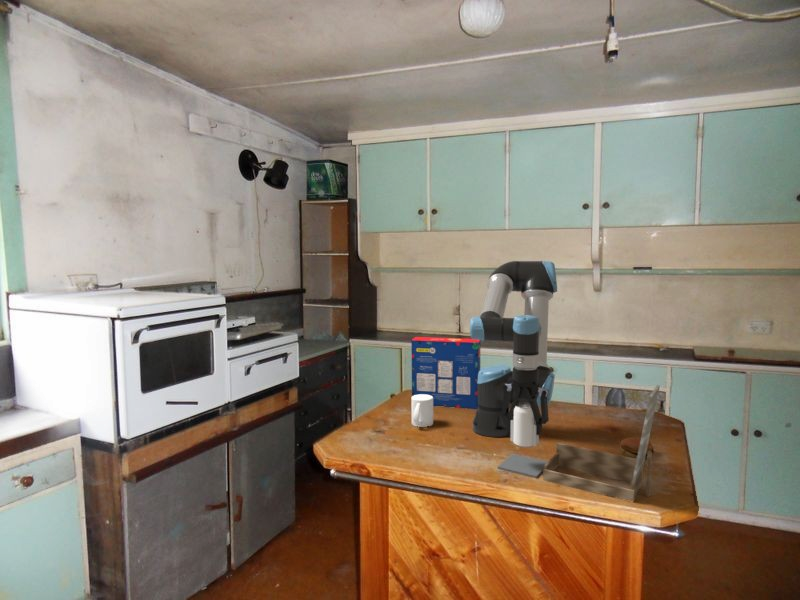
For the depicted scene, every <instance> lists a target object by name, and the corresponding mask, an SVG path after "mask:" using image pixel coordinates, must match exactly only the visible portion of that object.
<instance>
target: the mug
mask: <svg viewBox="0 0 800 600" xmlns="http://www.w3.org/2000/svg"><path fill="white" fill-rule="evenodd" d="M410 411H411V426H414V427H417V426H418V427H419V428H427V426H429V427H431V426H433V425H434V406H433V396H431V395H427V394H418V395H414V396H412V395H411V409H410Z"/></svg>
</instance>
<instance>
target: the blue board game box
mask: <svg viewBox="0 0 800 600" xmlns="http://www.w3.org/2000/svg"><path fill="white" fill-rule="evenodd" d="M480 370H481V340H474V339H472V338H454V337H429V336H428V337H426V336H424V337H423V336H422V337H421V336H415V337H413V338H412V339H411V397H412V396H414V395H418V394H427V395H431V396H433V407H435V406H444V407H443V408H450V407H455V408H454V409H465V408H467V409H469V410H477V408H478V384H477V381H478V373H479V371H480ZM467 409H466V410H467Z"/></svg>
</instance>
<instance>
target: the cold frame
mask: <svg viewBox="0 0 800 600" xmlns="http://www.w3.org/2000/svg"><path fill="white" fill-rule="evenodd" d="M660 386H661V385H659V384H657V385H656V386H655V387H654V389H653V390H652V392H651V393H650V394H649V396H648V402H647V407H646V411H645V417H644V422H643V426H642V432H641V437H640V438H641V441H640V446H639V451H638V456H637V458H632V457H627V456H625V455H624V456H623V455H619V454H614V453H609V452H605V451H599V450H596V449H590V448H585V447H581V446H575V445H571V444H565V443H560V442H557V443H556V453H554V455H553V456H551V458H550V459H549V460H547V461H548V462H547V463H546V464H545V465H544V470H543V472H542V481H546V482H550V483H554V482H555V483H554V484H558V483H559V484H558V485H562V484H563V485H562V486H566V485H567V486H566V487H570V486H571V487H570V488H574V487H575V489H578V488H579V489H578V490H582V489H583V490H582V491H586V490H587V492H590V493H594V492H595V494H598V493H600V494H599V495H602V494H604V495H603V496H606V495H608V496H607V497H610V496H613V497H612V498H614V497H617V498H616V499H618V498H621V499H620V500H622V499H625V500H624V501H626V500H630V501H634V502H635V500H636V498H635V497H637V496H638V494H639V492H640V490H639V489H641V487H642V485H643V474H644V473H643V470H644V469H643V468H644V465H645V460H646V483H645V497H647V496H649V497H650V496H651V485H652V484H651V483H652V481H651V480H652V479H651V477H652V459H653V457H652V455H653V453H652V451H648V453H647V458H645V456H646V451H647V446H648V441H649V440H650V436H651V430H652V428H653V427H652V426H653V421H654V416H655V412H656V408H657V407H656V406H657V402H658V397H659V391H660V388H661V387H660ZM558 467H561V468H565V469H568V470H569V469H570V470H575V471H578V472H582V473H586V474H590V475H595V476H600V477H604V478H609V479H613V480H617V481H622V482H626V483H630V484H631V485H630V486H631V487H630V488H625V487H623V486H622V487H621V486H617V485H613V484H611V483H610V484H609V483H605V482H601V481H596V480H592V479H587V478H584V477H580V476H575V475H572V474H566V473H563V472H558V471H556V470H557V468H558ZM638 491H639V492H638ZM637 493H638V494H637ZM636 495H637V496H636ZM634 499H635V500H634ZM630 501H629V502H630Z"/></svg>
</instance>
